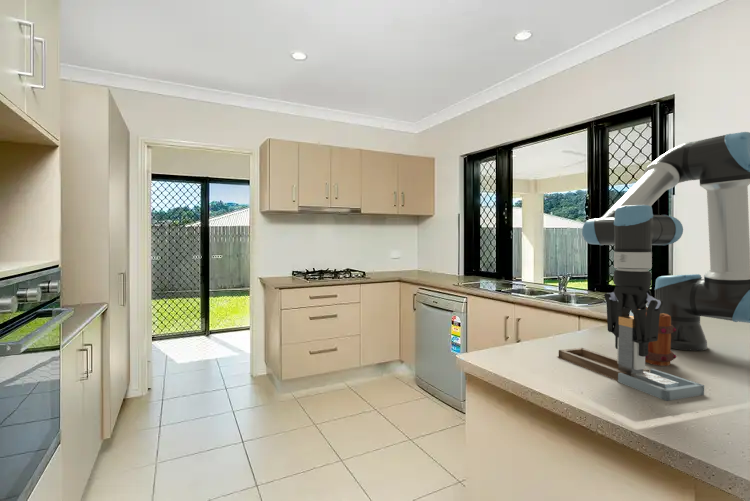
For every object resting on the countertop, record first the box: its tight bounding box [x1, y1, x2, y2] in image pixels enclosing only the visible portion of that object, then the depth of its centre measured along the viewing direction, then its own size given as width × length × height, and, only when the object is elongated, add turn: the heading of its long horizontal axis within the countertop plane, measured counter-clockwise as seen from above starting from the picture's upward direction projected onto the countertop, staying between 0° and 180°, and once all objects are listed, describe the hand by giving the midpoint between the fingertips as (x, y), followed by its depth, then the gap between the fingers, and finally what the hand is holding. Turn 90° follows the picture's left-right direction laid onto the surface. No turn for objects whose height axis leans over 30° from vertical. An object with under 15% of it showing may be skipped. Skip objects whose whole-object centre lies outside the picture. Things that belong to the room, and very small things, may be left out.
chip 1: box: [631, 371, 660, 382], centre depth 87 cm, size 4×4×2 cm
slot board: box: [556, 347, 650, 382], centre depth 99 cm, size 10×20×3 cm, turn 16°
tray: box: [617, 368, 705, 402], centre depth 84 cm, size 11×11×3 cm
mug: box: [638, 306, 677, 367], centre depth 105 cm, size 15×8×15 cm, turn 168°
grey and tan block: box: [618, 315, 643, 376], centre depth 90 cm, size 4×4×14 cm
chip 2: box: [647, 376, 679, 389], centre depth 83 cm, size 4×4×2 cm
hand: (630, 365), depth 90 cm, fingers closed on grey and tan block, 3 cm apart
